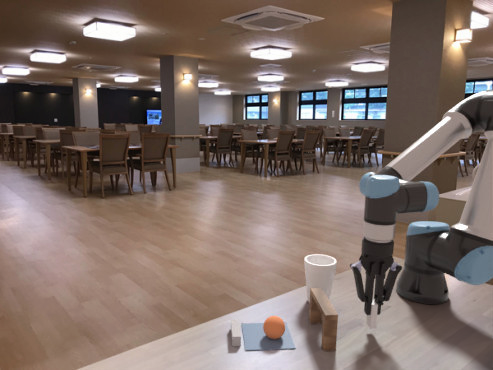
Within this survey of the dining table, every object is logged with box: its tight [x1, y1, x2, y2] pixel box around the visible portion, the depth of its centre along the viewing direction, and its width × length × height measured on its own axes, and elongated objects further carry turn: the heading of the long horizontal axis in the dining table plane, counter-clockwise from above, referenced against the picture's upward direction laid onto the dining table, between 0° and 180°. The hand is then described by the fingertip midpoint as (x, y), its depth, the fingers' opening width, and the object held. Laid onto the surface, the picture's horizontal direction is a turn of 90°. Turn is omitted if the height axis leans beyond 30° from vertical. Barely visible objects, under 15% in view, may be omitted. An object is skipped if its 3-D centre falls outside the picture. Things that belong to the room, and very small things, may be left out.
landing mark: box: [241, 321, 296, 352], centre depth 102 cm, size 12×12×1 cm
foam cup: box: [303, 253, 338, 304], centre depth 120 cm, size 10×9×13 cm
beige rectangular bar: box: [230, 319, 242, 347], centre depth 101 cm, size 2×8×2 cm, turn 5°
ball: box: [263, 315, 285, 339], centre depth 101 cm, size 6×6×6 cm
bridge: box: [308, 288, 339, 352], centre depth 103 cm, size 3×14×9 cm, turn 5°
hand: (371, 325), depth 104 cm, fingers closed
